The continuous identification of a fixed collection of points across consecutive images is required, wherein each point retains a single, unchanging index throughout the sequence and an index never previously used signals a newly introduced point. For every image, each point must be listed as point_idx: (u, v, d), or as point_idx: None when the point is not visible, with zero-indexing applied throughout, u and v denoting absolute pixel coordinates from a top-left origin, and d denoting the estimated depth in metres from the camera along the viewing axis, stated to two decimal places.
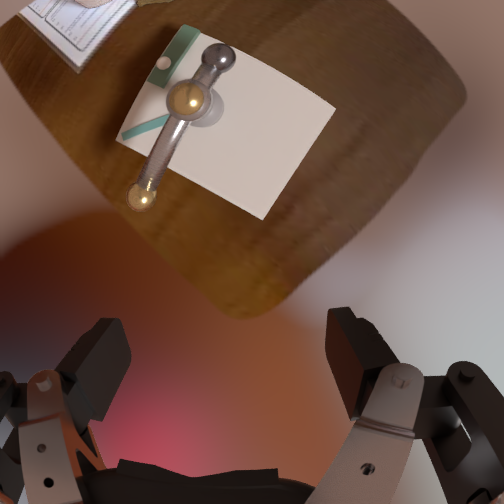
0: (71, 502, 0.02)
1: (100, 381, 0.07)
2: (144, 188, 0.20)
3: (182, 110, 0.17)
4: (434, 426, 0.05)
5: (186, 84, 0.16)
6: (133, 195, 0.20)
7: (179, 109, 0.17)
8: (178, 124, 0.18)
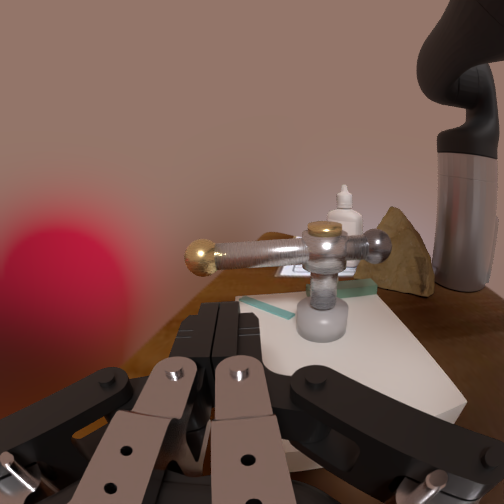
0: None
1: None
2: (215, 244, 0.19)
3: (313, 226, 0.18)
4: (284, 427, 0.06)
5: (335, 222, 0.19)
6: (204, 239, 0.19)
7: (312, 224, 0.19)
8: (298, 241, 0.19)
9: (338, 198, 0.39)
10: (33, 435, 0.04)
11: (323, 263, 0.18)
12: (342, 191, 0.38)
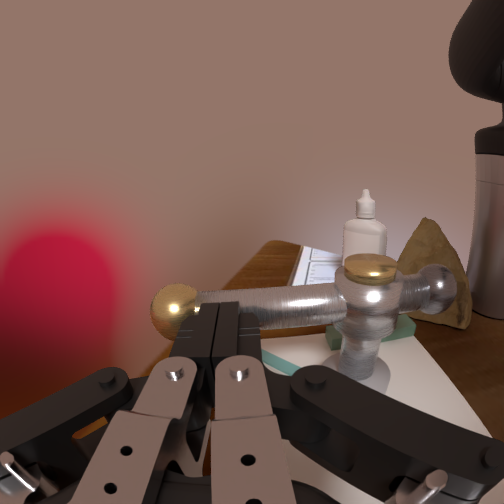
0: None
1: None
2: (197, 295, 0.11)
3: (355, 265, 0.11)
4: (284, 427, 0.06)
5: (384, 257, 0.12)
6: (180, 284, 0.12)
7: (353, 262, 0.11)
8: (330, 289, 0.11)
9: (359, 206, 0.31)
10: (33, 435, 0.04)
11: (368, 325, 0.11)
12: (364, 197, 0.31)
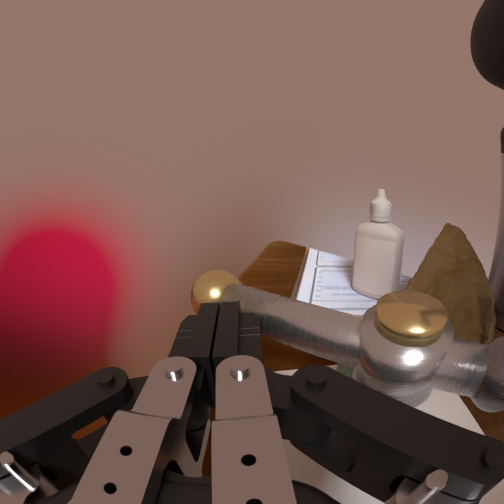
0: None
1: None
2: (228, 286, 0.12)
3: (386, 306, 0.08)
4: (284, 427, 0.06)
5: (441, 306, 0.07)
6: (222, 272, 0.13)
7: (387, 302, 0.08)
8: (350, 325, 0.09)
9: (373, 208, 0.27)
10: (33, 435, 0.04)
11: (372, 388, 0.07)
12: (379, 197, 0.27)
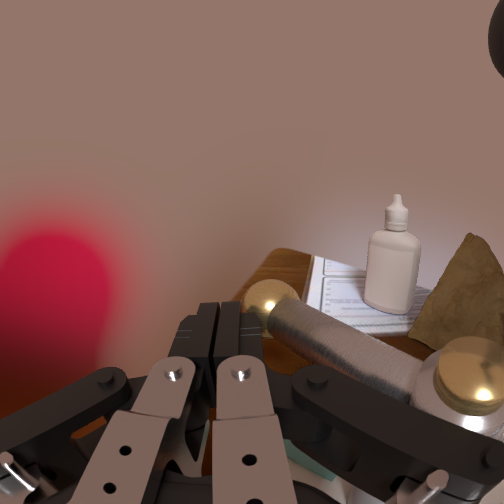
0: None
1: None
2: (281, 300, 0.11)
3: (451, 358, 0.05)
4: (286, 427, 0.06)
5: None
6: (278, 283, 0.11)
7: (453, 351, 0.05)
8: (406, 371, 0.06)
9: (389, 215, 0.24)
10: (32, 435, 0.04)
11: None
12: (395, 204, 0.24)
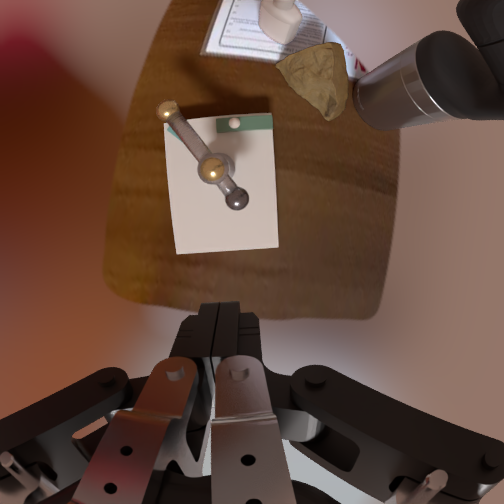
0: None
1: None
2: (169, 116, 0.26)
3: (205, 164, 0.26)
4: (284, 428, 0.06)
5: (221, 173, 0.27)
6: (168, 107, 0.25)
7: (206, 162, 0.26)
8: (199, 156, 0.27)
9: None
10: (33, 435, 0.04)
11: None
12: None
